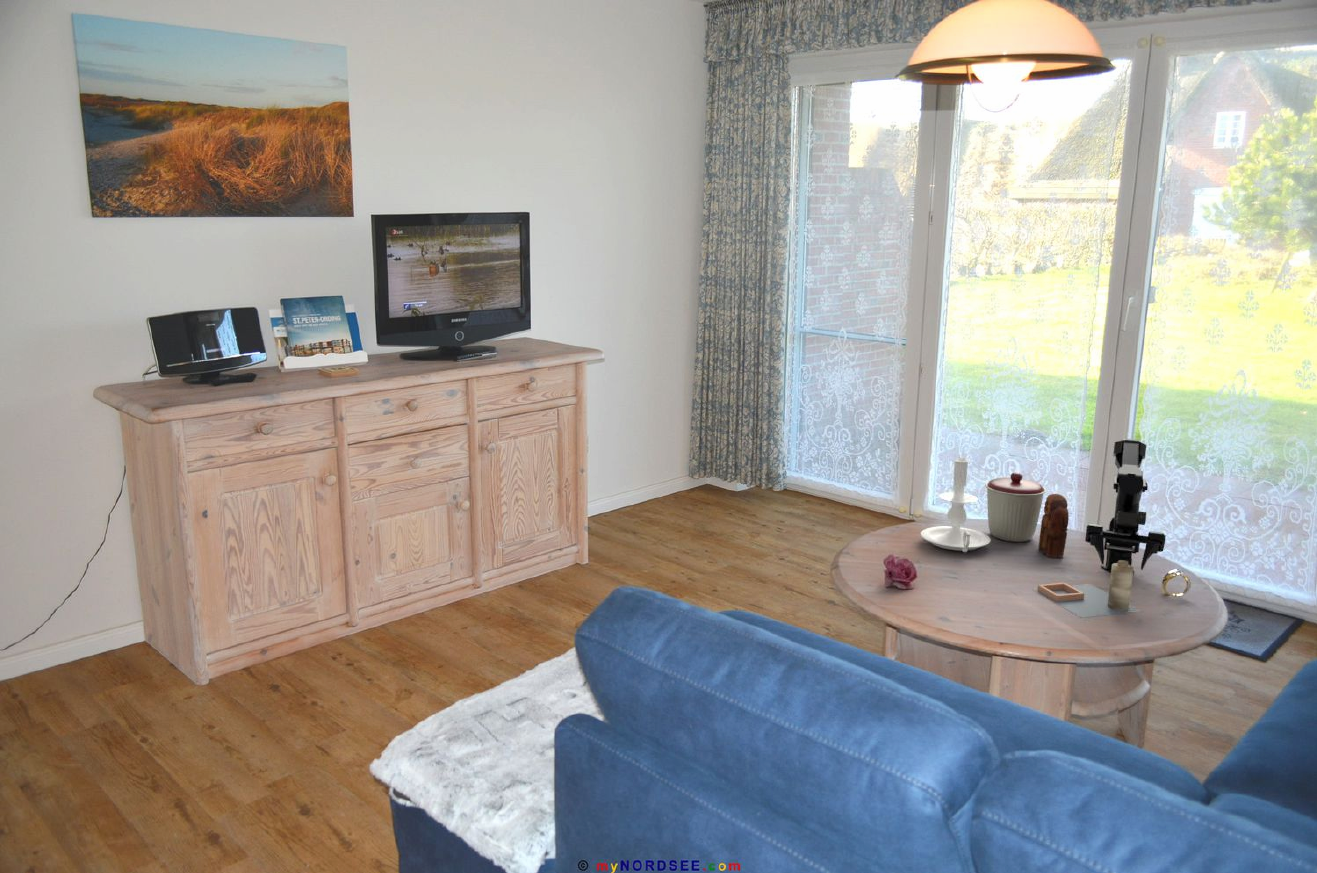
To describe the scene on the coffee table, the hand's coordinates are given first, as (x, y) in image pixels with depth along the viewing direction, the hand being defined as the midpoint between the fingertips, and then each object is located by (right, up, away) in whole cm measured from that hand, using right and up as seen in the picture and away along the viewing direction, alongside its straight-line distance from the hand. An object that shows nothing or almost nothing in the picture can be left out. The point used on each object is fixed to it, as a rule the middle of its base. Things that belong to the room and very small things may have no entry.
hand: (1122, 566), depth 256 cm
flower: (-54, -7, +16) cm, 56 cm away
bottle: (-2, -10, -1) cm, 10 cm away
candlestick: (-29, -1, +47) cm, 55 cm away
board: (-8, -10, +3) cm, 13 cm away
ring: (+18, -10, +8) cm, 22 cm away
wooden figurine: (-1, -2, +44) cm, 44 cm away
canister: (-8, +1, +58) cm, 59 cm away
